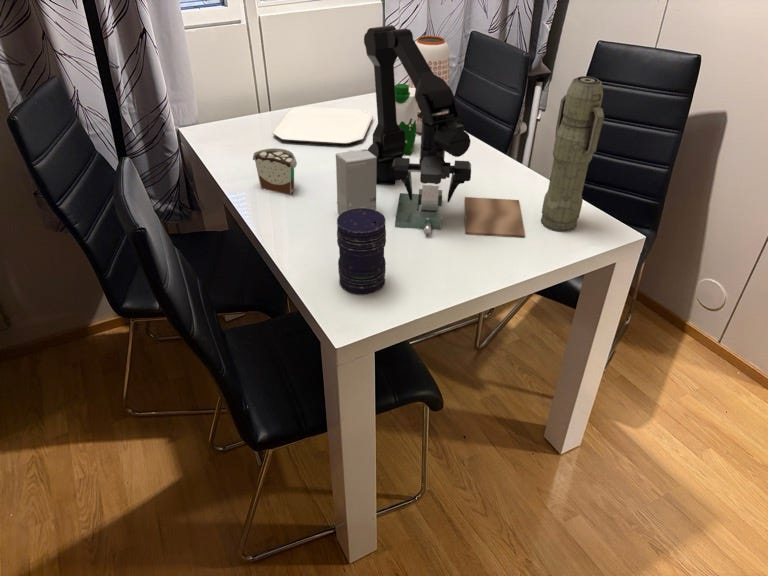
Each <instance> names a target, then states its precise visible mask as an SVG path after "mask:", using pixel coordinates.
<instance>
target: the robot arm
mask: <svg viewBox="0 0 768 576" xmlns="http://www.w3.org/2000/svg"><path fill="white" fill-rule="evenodd" d="M415 41H416V40H414V35H413V32H412V31H411V29H410V28H400V29H398V28H397V27H395V26H394V25H384V26H376V27H375V26H374V27H370V28H368V29H367V31H366V33H364V37H363V44H364V47H365V51H366V56H367V57H368V59H369V60H370V61H371V63H372V65H373V68H374V69H373V70H374V72H373V73H374V84H375V86H374V87H375V99H376V114H377V115H376V116H377V125H376V127H375V129H374V131H373V134H372V143H371V144H370V146H369V147H368V148H367V149H366V150H368V151H369V152H370V153H372V154H373V155H374V156H376V157H377V173H376V185H391V186H393V185H396V183H397V181H401V182H402V183H403V185H404V186H405V189H406V191H407V193H408V195H409V198H410V201H412V194H413V186H412V184H413V183H412V182H413V181H412V173H420V175H419V177H420V178H419V179H420V181H419V182H420V183H422V184H423V185H426V184H434V185H440V183H442V180H446V179H450V182H449V187H448V194H447V202H446V203H450V202H451V199H452V197H453V195H454V193H455V190H456V189H457V188H458V186H459V185H461V184H465V182H469V181H471V178H472V164H471V162H470V161H469V160H454V165H451V162H449V161H448V162H447V161H445V153H447V154H449V155H451V156H453V157H455V158H459V157H461V156H464V155H465V153H466V152H467V151H469V148H470V146H471V137H470V135H469V134H468V133H467V132H466V131H465V126H464V125H463V124H461V123H457V122H456V121H459V120H461V115H460V109H459V106H458V104H457V102H456V99H455V95H454V92H453V90H452V88H451V87H450V85H449V86H448V85H447V83H446V82H445V81H444V80H443V79H441V78H440V77H438V76H436V75H435V74H434V73H433V72H432V70H431V69H430V67H429V65H428V64H427V62H426V60H425V58H424V57H423V55H422V53H421V52H420V50H419V48H418V47H417V45H416V43H415ZM397 59H398V60H399V61H400V63H401V65H402V66H403V68H404V70H405V72H406V73H407V75H408V78H409V77H410V79H411V80H412V82H413V84H414V86H415V89H416V90H415V99H416V102H417V104H418V107H419V109H420V111H421V112H420V113H419V114H418V115H417V116H418V117H419V118H420V119H422V131H421V134H420V135H421V136H420V151H419V152H420V154H419V155H420V156H419V161H418V162H419V163H410V162H411V161H410V160H411V158H409V157H404V155H403V154H404V151H405V146H406V143H405V132H404V130H401V129H400V127H399V126H398V124H397V117H396V99H395V85H396V82H395V63H396V60H397ZM445 111H448V113H446V114H441V115H438V114H436V113H441V112H445ZM450 174H451V175H450ZM450 177H451V178H450Z"/></svg>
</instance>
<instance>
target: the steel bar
mask: <svg viewBox="0 0 768 576" xmlns="http://www.w3.org/2000/svg"><path fill="white" fill-rule="evenodd" d="M421 189H422V199H421V205H420V211H421V212H438V207H439V206H438V192H439V190H440V186H439V185H430V184H429V185H426V184H423V185H422V188H421Z"/></svg>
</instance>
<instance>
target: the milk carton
mask: <svg viewBox="0 0 768 576" xmlns="http://www.w3.org/2000/svg"><path fill="white" fill-rule="evenodd" d="M415 90H416V89H415V88H411V87H409V86H408V84H406V83H397V84H395V99H396V117H397V124H398V126H399V127H400V129H401V130H404V132H405V143H406V146H405V151H404V154H403V156H411V155H412V152H413V149H414V147H415V143H416V136H417V133H416V130H417V102H416V99H415Z"/></svg>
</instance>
